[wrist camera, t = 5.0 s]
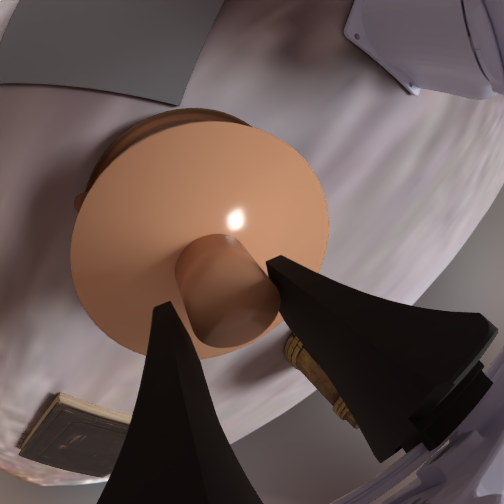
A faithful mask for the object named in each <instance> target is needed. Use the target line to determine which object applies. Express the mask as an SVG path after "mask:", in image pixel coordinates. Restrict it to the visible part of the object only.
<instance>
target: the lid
mask: <svg viewBox="0 0 504 504" xmlns="http://www.w3.org/2000/svg"><path fill="white" fill-rule="evenodd" d="M328 236H329V216H328V207H327V203H326V199H325V195H324V192H323V189H322V187H321V184H320V182H319V180H318V178H317V177H316V175H315V173H314V171H313V170H312V168H311V167H310V166H309V164H308V163H307V162H306V161H305V160H304V158H303V157H302V156H301V155H300V154H299V153H298V152H296V151H295V150H294V149H293V148H292V147H291V146H290V145H288V144H287V143H285V142H283V141H282V140H280V139H279V138H277V137H276V136H274V135H271V134H269V133H267V132H264V131H262V130H260V129H257V128H253V127H249V126H245V125H241V124H237V123H232V122H223V121H197V122H188V123H183V124H179V125H175V126H171V127H167V128H165V129H162V130H160V131H157V132H155V133H152V134H150V135H148V136H146V137H144V138H143V139H141V140H139V141H138V142H136V143H134V144H132V145H131V146H129V147H128V148H127V149H126V150H124V151H123V152H122V153H121V154H119V155H118V156H117V157H116V158H115V159H113V161H112V162H111V163H110V164H109V165H108V166H107V167H106V168H105V169H104V170H103V172H102V173H101V174H100V175H99V176H98V178H97V179H96V181H95V182H94V184H93V185H92V187H91V189H90V190H89V192H88V194H87V196H86V198H85V200H84V202H83V205H82V207H81V209H80V211H79V214H78V216H77V219H76V222H75V226H74V230H73V234H72V240H71V251H70V261H71V273H72V278H73V282H74V286H75V290H76V292H77V295H78V297H79V299H80V302H81V304H82V306H83V307H84V309H85V310H86V312H87V314H88V315H89V317H90V318H91V319H92V320H93V322H94V323H95V324H96V325H97V326H98V328H99V329H101V330H102V331H103V332H104V333H105V334H106V335H107V336H108V337H110V338H111V339H113V340H114V341H116V342H117V343H119V344H120V345H122V346H124V347H126V348H128V349H130V350H132V351H134V352H137V353H140V354H142V355H145V356H146V354H147V348H148V342H149V336H150V329H151V321H152V311H153V309H154V307H155V306H158V305H160V304H163V303H165V302H168V301H171V302H172V304H173V306H174V308H175V310H176V312H177V314H178V316H179V317H180V319H181V321H182V323H183V325H184V326H185V328H186V330H187V332H188V333H189V335H190V337H191V339H192V342H193V344H194V347H195V350H196V352H197V355H198V357H199V360H200V359H206V358H211V357H216V356H219V355H223V354H226V353H229V352H232V351H235V350H237V349H240V348H242V347H244V346H246V345H248V344H250V343H252V342H254V341H256V340H257V339H259V338H261V337H262V336H264V335H265V334H267V333H268V332H270V331H271V330H272V329H274V328H275V327H276V326H277V325H279V324H280V323H281V322H282V321H283V320H284V319H283V317H282V316H281V314H280V313H279V309H280V303H281V298H280V293H279V291H278V289H277V287H276V286H275V285H274V283H273V282H272V281H271V280H270V278H269V277H268V272H267V267H266V262H265V261H267V260H270V259H272V258H275V257H277V256H279V255H282V256H284V257H286V258H288V259H290V260H292V261H294V262H296V263H298V264H300V265H302V266H304V267H306V268H308V269H310V270H312V271H314V272H317V273H319V270H320V268H321V265H322V263H323V259H324V256H325V252H326V248H327V242H328Z"/></svg>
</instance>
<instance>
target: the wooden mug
mask: <svg viewBox="0 0 504 504" xmlns="http://www.w3.org/2000/svg"><path fill="white" fill-rule="evenodd" d="M284 353H285V356H286V358H287V360H288V361H289V362H290V363H291V364H292V365H293V366H294V367H295V368H296V369H298V370H300V371H301V372H302V373H303V374H304V375H305V376H306V377H307V378H308V380H309V381H310V382H311V383H312V384H313V385H314V386H315V387H316V388H317V389H318V390H319V391H320V393H321V394H323V396H324V397H325V398H326V399H327V400H328V401H329V402H330V403H331V404H332V405H333V406H334V407H333V411H334V412H335V413H336V414H337V415H338V416H339V417H340V418H341V419H342V420H347V421H348V422H349V423H350V424H351V425H352V426H353V427H354V428H356V429H357V428H359V426H358V425H357V423H356V421H355V419H354V418H353V416H352V414H351V413H350V411H349V409H348V408H347V406H346V404H345V403H344V401H343V400H342V398H341V396H340V395H339V393H338V392H337V390H336V388H335V387H334V385H333V384H332V382H331V381H330V379H329V378H328V376H327V374H326V373H325V372H324V370H323V369H322V368H321V366H320V365H319V364H318V363H317V361H316V360H315V359H314V358H313V356H312V355H311V354H310V353H309V352H308V350H307V349H306V348H305V347H304V345H303V344H302V343H301V342H300V340H299V339H298V338H297V337H296V335H295V334H294V333H292V335H291V336H290V337H289V339H288V341H287V343H286V346H285V348H284Z"/></svg>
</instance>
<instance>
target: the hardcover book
mask: <svg viewBox="0 0 504 504" xmlns="http://www.w3.org/2000/svg"><path fill="white" fill-rule="evenodd" d="M131 418H132V416H130V415H126V414H122V413H119V412H115V411H112V410H109V409H106V408H102V407H99V406H96V405H93V404H90V403H88V402H85V401H82V400H79V399H77V398H74V397H71V396H69V395H66V394H64V393H61V392H60V393H59V394H58V395H57V397H56V398H55V399H54V401H53V402H52V403H51V405H50V406H49V407H48V409H47V410H46V412H45V413H44V414H43V416H42V417H41V418H40V420H39V421H38V423H37V424H36V425H35V427H34V428H33V430H32V431H31V433H30V434H29V436H28V437H27V438H26V440H25V441H24V443H23V444H22V446H21V451H20V453H19V456H22V457H24V458H27V459H30V460H33V461H36V462H39V463H42V464H45V465H49V466H52V467H56V468H60V469H63V470H68V471H72V472H76V473H81V474H86V475H91V476H96V477H104V476H106V475H109V474H111V473H112V471H113V468H114V465H115V463H116V460H117V458H118V455H119V453H120V451H121V448H122V445H123V443H124V440H125V437H126V434H127V431H128V428H129V424H130V421H131Z"/></svg>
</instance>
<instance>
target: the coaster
mask: <svg viewBox="0 0 504 504" xmlns="http://www.w3.org/2000/svg"><path fill="white" fill-rule="evenodd" d="M224 1H225V0H20V1H19V3H18V5H17V7H16V9H15V11H14V13H13V15H12V17H11V19H10V21H9V24H8V26H7V28H6V30H5V33H4V35H3V38H2V40H1V43H0V83H25V84H48V85H61V86H72V87H81V88H89V89H96V90H103V91H110V92H116V93H121V94H127V95H132V96H137V97H142V98H147V99H152V100H156V101H161V102H165V103H169V104H173V105H177V106H180V103H181V100H182V98H183V95H184V92H185V89H186V87H187V84H188V81H189V79H190V76H191V74H192V71H193V69H194V66H195V64H196V61H197V59H198V56H199V54H200V52H201V49H202V47H203V45H204V42H205V40H206V38H207V36H208V34H209V31H210V29H211V27H212V25H213V23H214V21H215V19H216V17H217V15H218V13H219V11H220V9H221V7H222V5H223V3H224Z"/></svg>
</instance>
